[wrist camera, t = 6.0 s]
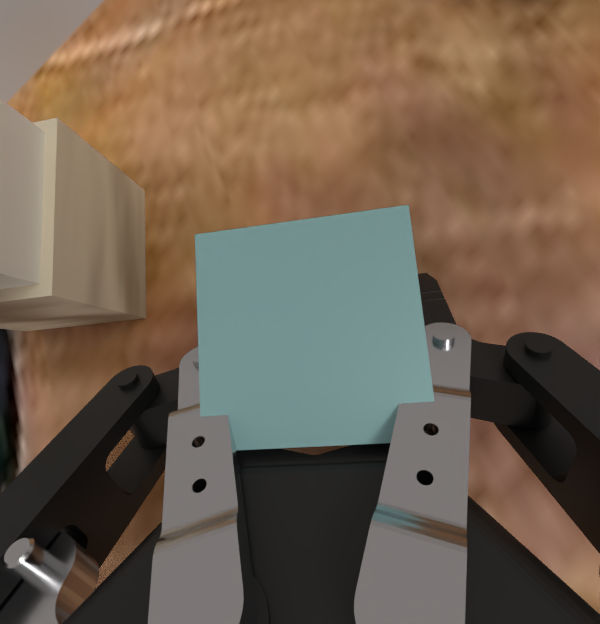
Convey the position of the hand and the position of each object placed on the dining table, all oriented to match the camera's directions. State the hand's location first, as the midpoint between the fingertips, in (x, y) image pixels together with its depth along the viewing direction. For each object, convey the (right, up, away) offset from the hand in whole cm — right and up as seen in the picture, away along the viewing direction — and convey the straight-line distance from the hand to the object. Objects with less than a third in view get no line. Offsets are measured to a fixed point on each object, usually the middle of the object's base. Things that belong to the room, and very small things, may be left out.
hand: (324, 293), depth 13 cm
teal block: (+1, -2, +4) cm, 5 cm away
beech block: (-12, +2, +7) cm, 14 cm away
